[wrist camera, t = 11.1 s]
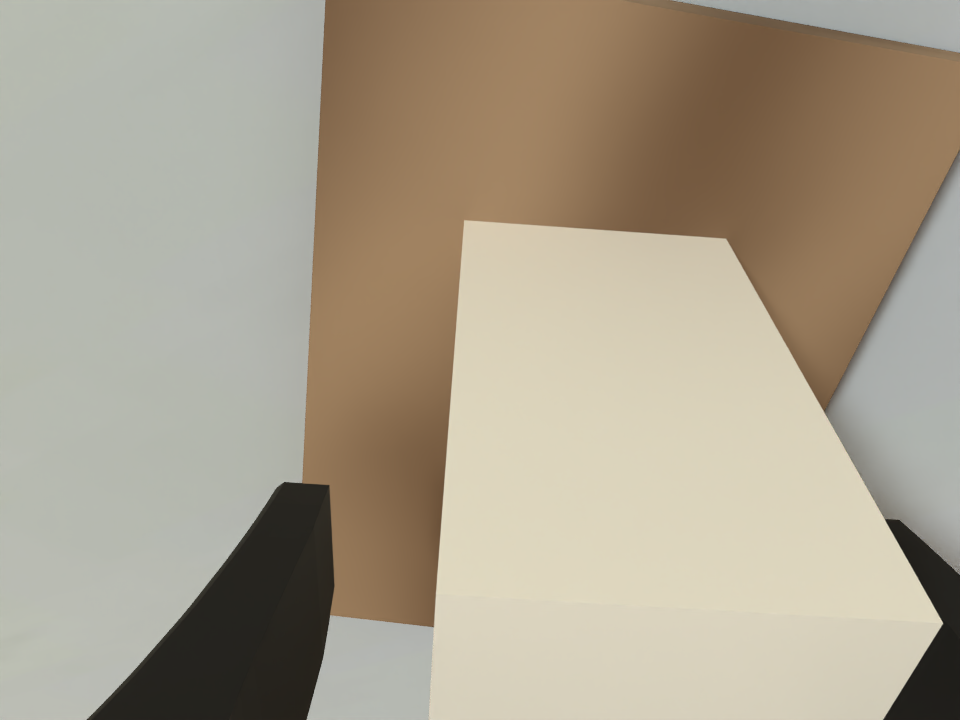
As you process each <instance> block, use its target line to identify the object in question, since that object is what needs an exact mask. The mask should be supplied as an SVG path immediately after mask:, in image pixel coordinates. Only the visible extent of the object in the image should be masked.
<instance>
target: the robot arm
mask: <svg viewBox="0 0 960 720" xmlns="http://www.w3.org/2000/svg"><path fill="white" fill-rule="evenodd" d="M885 521H886V523H887V525H888V526H889V528H890V530H891V532H892V533H893V535H894V537H895V539H896V541H897V542H898V544H899V546H900V548H901V549H902V551H903V553H904V555H905V557H906V558H907V560H908V562H909V564H910V565H911V567H912V569H913V571H914V572H915V574H916V576H917V578H918V580H919V581H920V583H921V585H922V587H923V588H924V590H925V592H926V594H927V596H928V597H929V599H930V601H931V603H932V604H933V606H934V608H935V610H936V611H937V613H938V615H939V617H940V619H941V620H942V622H943V624H942V626H941V628H940V629H939V631H938V632H937V634H936V636H935V637H934V639H933V640H932V642H931V644H930V645H929V647H928V648H927V650H926V652H925V653H924V655H923V656H922V658H921V660H920V661H919V663H918V664H917V666H916V668H915V669H914V671H913V672H912V674H911V676H910V677H909V679H908V680H907V682H906V684H905V685H904V687H903V688H902V690H901V692H900V693H899V695H898V696H897V698H896V700H895V701H894V703H893V704H892V706H891V708H890V709H889V711H888V713H887V714H886V716H885V717H884V719H883V720H960V575H959V574H958V573H957V572H956V571H955V570H954V569H953V568H952V567H950V566H949V565H948V564H947V563H946V562H945V561H944V560H943V559H942V558H941V557H940V556H939V555H938V554H937V553H935V552H934V551H933V550H932V549H931V548H930V547H929V546H928V545H927V544H926V543H925V542H923V541H922V540H921V539H920V538H919V537H918V536H917V535H916V534H915V533H913V532H912V531H911V530H910V529H909V528H908V527H907V526H905V525H904V524H903V523H902V522H901V521H900V520H889V519H885ZM334 587H335V584H334V565H333V545H332V525H331V505H330V485H322V484H305V483H289V482H284V483H283V484H281V485H280V486H279V487H277V488H276V490H275V491H274V493H273V494H272V496H271V497H270V499H269V501H268V502H267V504H266V505H265V507H264V508H263V510H262V511H261V513H260V514H259V516H258V517H257V519H256V520H255V521H254V523H253V524H252V526H251V527H250V529H249V530H248V531H247V533H246V534H245V536H244V537H243V538H242V540H241V541H240V542H239V544H238V545H237V547H236V548H235V549H234V551H233V552H232V553H231V555H230V556H229V557H228V559H227V560H226V561H225V563H224V564H223V565H222V567H221V568H220V569H219V570H218V572H217V573H216V574H215V575H214V577H213V578H212V579H211V580H210V582H209V583H208V584H207V586H206V587H205V588H204V589H203V591H202V592H201V593H200V594H199V596H198V597H197V598H196V599H195V601H194V602H193V603H192V605H191V606H190V607H189V608H188V609H187V611H186V612H185V613H184V614H183V615H182V617H181V618H180V619H179V620H178V621H177V622H176V624H175V625H174V626H173V627H172V628H171V629H170V630H169V632H168V633H167V634H166V635H165V636H164V637H163V638H162V640H161V641H160V642H159V643H158V644H157V645H156V646H155V648H154V649H153V650H152V651H151V652H150V653H149V654H148V656H147V657H146V658H145V659H144V660H143V661H142V662H141V663H140V665H139V666H138V667H137V668H136V669H135V670H134V671H133V672H132V673H131V675H130V676H129V677H128V678H127V679H126V680H125V681H124V682H123V683H122V684H121V685H120V686H119V687H118V688H117V689H116V690H115V692H114V693H113V694H112V695H111V696H110V697H109V698H108V699H107V700H106V701H105V702H104V703H103V704H102V705H101V706H100V707H99V708H98V709H97V710H96V711H95V712H94V713H93V714H92V715H91V716H90V717H89V718H88V719H87V720H306V719H307V716H308V712H309V708H310V705H311V701H312V697H313V694H314V690H315V686H316V682H317V679H318V675H319V671H320V667H321V664H322V660H323V655H324V649H325V643H326V637H327V631H328V625H329V619H330V613H331V606H332V600H333V593H334Z"/></svg>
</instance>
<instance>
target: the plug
mask: <svg viewBox="0 0 960 720" xmlns="http://www.w3.org/2000/svg"><path fill="white" fill-rule="evenodd" d="M942 624H943V622H942V620H941V619H940V617H939V615H938V613H937V611H936V610H935V608H934V606H933V604H932V603H931V601H930V599H929V597H928V596H927V594H926V592H925V590H924V588H923V587H922V585H921V583H920V581H919V580H918V578H917V576H916V574H915V572H914V571H913V569H912V567H911V565H910V564H909V562H908V560H907V558H906V557H905V555H904V553H903V551H902V549H901V548H900V546H899V544H898V542H897V541H896V539H895V537H894V535H893V533H892V532H891V530H890V528H889V526H888V525H887V523H886V521H885V519H884V518H883V516H882V514H881V512H880V510H879V509H878V507H877V505H876V503H875V502H874V500H873V498H872V496H871V494H870V493H869V491H868V489H867V487H866V486H865V484H864V482H863V480H862V479H861V477H860V475H859V473H858V471H857V470H856V468H855V466H854V464H853V463H852V461H851V459H850V457H849V455H848V454H847V452H846V450H845V448H844V447H843V445H842V443H841V441H840V440H839V438H838V436H837V434H836V432H835V431H834V429H833V427H832V425H831V424H830V422H829V420H828V418H827V417H826V415H825V413H824V411H823V409H822V408H821V406H820V404H819V402H818V401H817V399H816V397H815V395H814V393H813V392H812V390H811V388H810V386H809V385H808V383H807V381H806V379H805V378H804V376H803V374H802V372H801V370H800V369H799V367H798V365H797V363H796V362H795V360H794V358H793V356H792V354H791V353H790V351H789V349H788V347H787V346H786V344H785V342H784V340H783V339H782V337H781V335H780V333H779V331H778V330H777V328H776V326H775V324H774V323H773V321H772V319H771V317H770V315H769V314H768V312H767V310H766V308H765V307H764V305H763V303H762V301H761V300H760V298H759V296H758V294H757V292H756V291H755V289H754V287H753V285H752V284H751V282H750V280H749V278H748V276H747V275H746V273H745V271H744V269H743V268H742V266H741V264H740V262H739V261H738V259H737V257H736V255H735V253H734V252H733V250H732V248H731V246H730V245H729V243H728V241H727V239H723V238H709V237H695V236H681V235H667V234H653V233H638V232H624V231H610V230H596V229H582V228H567V227H553V226H539V225H525V224H511V223H497V222H482V221H468V220H464V229H463V243H462V256H461V269H460V282H459V295H458V309H457V322H456V335H455V348H454V362H453V375H452V388H451V401H450V414H449V428H448V441H447V454H446V467H445V481H444V494H443V507H442V520H441V534H440V547H439V560H438V573H437V586H436V601H435V619H434V636H433V653H432V671H431V688H430V705H429V720H883V719H884V717H885V716H886V714H887V713H888V711H889V709H890V708H891V706H892V704H893V703H894V701H895V700H896V698H897V696H898V695H899V693H900V692H901V690H902V688H903V687H904V685H905V684H906V682H907V680H908V679H909V677H910V676H911V674H912V672H913V671H914V669H915V668H916V666H917V664H918V663H919V661H920V660H921V658H922V656H923V655H924V653H925V652H926V650H927V648H928V647H929V645H930V644H931V642H932V640H933V639H934V637H935V636H936V634H937V632H938V631H939V629H940V628H941V626H942Z"/></svg>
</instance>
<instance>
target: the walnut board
mask: <svg viewBox="0 0 960 720" xmlns="http://www.w3.org/2000/svg"><path fill="white" fill-rule="evenodd" d="M959 149H960V53H957V52H952V51H946V50H941V49H935V48H930V47H924V46H919V45H913V44H908V43H902V42H897V41H891V40H886V39H880V38H875V37H869V36H864V35H858V34H853V33H847V32H842V31H836V30H831V29H825V28H820V27H814V26H809V25H803V24H798V23H792V22H787V21H781V20H776V19H770V18H765V17H759V16H754V15H748V14H743V13H738V12H732V11H727V10H721V9H716V8H710V7H705V6H699V5H694V4H688V3H683V2H677V1H672V0H326V2H325V23H324V43H323V64H322V85H321V106H320V127H319V147H318V168H317V189H316V210H315V231H314V251H313V272H312V293H311V314H310V335H309V355H308V376H307V397H306V418H305V439H304V459H303V480H302V483H305V484H322V485H330V505H331V525H332V545H333V565H334V584H335V587H334V593H333V600H332V606H331V613H330V615H334V616H342V617H351V618H360V619H368V620H377V621H386V622H394V623H403V624H412V625H420V626H429V627H434V619H435V601H436V586H437V573H438V560H439V547H440V534H441V520H442V507H443V494H444V481H445V467H446V454H447V441H448V428H449V414H450V401H451V388H452V375H453V362H454V348H455V335H456V322H457V309H458V295H459V282H460V269H461V256H462V243H463V229H464V220H468V221H482V222H497V223H511V224H525V225H539V226H553V227H567V228H582V229H596V230H610V231H624V232H638V233H653V234H667V235H681V236H695V237H709V238H723V239H727V241H728V243H729V245H730V246H731V248H732V250H733V252H734V253H735V255H736V257H737V259H738V261H739V262H740V264H741V266H742V268H743V269H744V271H745V273H746V275H747V276H748V278H749V280H750V282H751V284H752V285H753V287H754V289H755V291H756V292H757V294H758V296H759V298H760V300H761V301H762V303H763V305H764V307H765V308H766V310H767V312H768V314H769V315H770V317H771V319H772V321H773V323H774V324H775V326H776V328H777V330H778V331H779V333H780V335H781V337H782V339H783V340H784V342H785V344H786V346H787V347H788V349H789V351H790V353H791V354H792V356H793V358H794V360H795V362H796V363H797V365H798V367H799V369H800V370H801V372H802V374H803V376H804V378H805V379H806V381H807V383H808V385H809V386H810V388H811V390H812V392H813V393H814V395H815V397H816V399H817V401H818V402H819V404H820V406H821V408H822V409H823V411H825V409H826V407H827V405H828V403H829V401H830V399H831V397H832V395H833V393H834V391H835V389H836V387H837V385H838V384H839V382H840V380H841V378H842V376H843V374H844V372H845V370H846V368H847V366H848V364H849V362H850V360H851V358H852V356H853V354H854V353H855V351H856V349H857V347H858V345H859V343H860V341H861V339H862V337H863V335H864V333H865V331H866V329H867V327H868V325H869V324H870V322H871V320H872V318H873V316H874V314H875V312H876V310H877V308H878V306H879V304H880V302H881V300H882V298H883V296H884V294H885V293H886V291H887V289H888V287H889V285H890V283H891V281H892V279H893V277H894V275H895V273H896V271H897V269H898V267H899V265H900V264H901V262H902V260H903V258H904V256H905V254H906V252H907V250H908V248H909V246H910V244H911V242H912V240H913V238H914V236H915V234H916V233H917V231H918V229H919V227H920V225H921V223H922V221H923V219H924V217H925V215H926V213H927V211H928V209H929V207H930V205H931V204H932V202H933V200H934V198H935V196H936V194H937V192H938V190H939V188H940V186H941V184H942V182H943V180H944V178H945V176H946V174H947V173H948V171H949V169H950V167H951V165H952V163H953V161H954V159H955V157H956V155H957V153H958V151H959Z"/></svg>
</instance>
